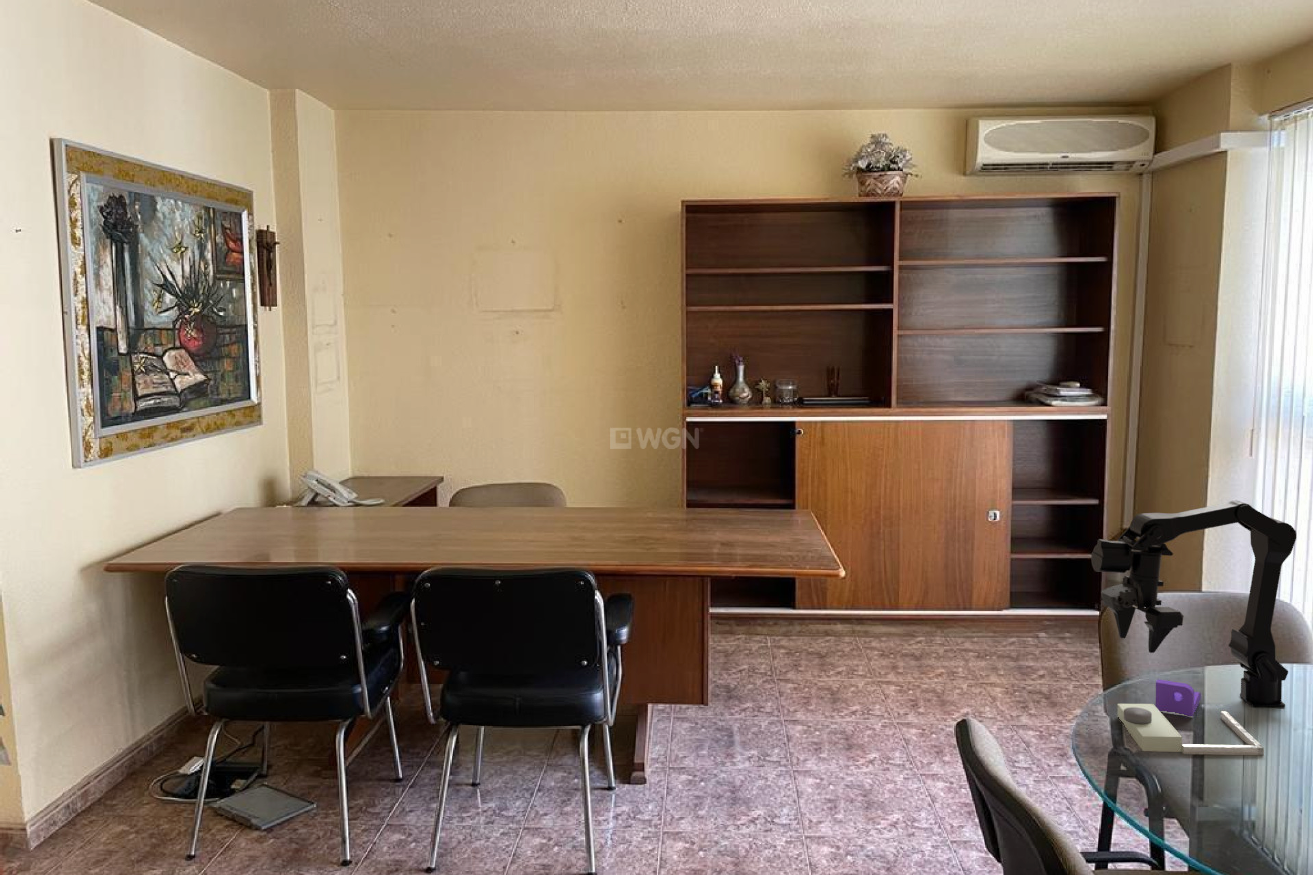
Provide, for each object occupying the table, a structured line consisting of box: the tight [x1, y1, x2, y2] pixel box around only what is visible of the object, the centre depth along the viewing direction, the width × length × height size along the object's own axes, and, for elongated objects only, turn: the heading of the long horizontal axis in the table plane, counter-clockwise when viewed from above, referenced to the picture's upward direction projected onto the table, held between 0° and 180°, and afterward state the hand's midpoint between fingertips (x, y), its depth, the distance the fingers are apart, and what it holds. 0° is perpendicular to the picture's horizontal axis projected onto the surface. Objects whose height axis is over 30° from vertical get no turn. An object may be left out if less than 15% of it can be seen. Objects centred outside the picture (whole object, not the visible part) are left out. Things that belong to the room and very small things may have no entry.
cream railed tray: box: [1117, 703, 1265, 756], centre depth 191 cm, size 22×17×4 cm
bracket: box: [1155, 678, 1202, 717], centre depth 205 cm, size 12×7×7 cm, turn 143°
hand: (1136, 645), depth 204 cm, fingers open, 9 cm apart
